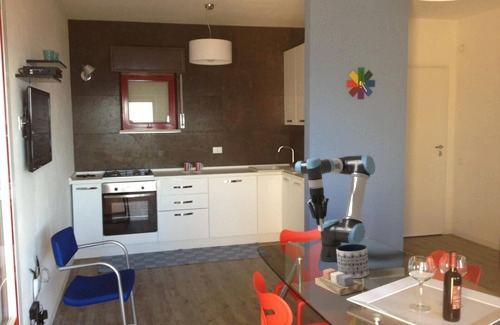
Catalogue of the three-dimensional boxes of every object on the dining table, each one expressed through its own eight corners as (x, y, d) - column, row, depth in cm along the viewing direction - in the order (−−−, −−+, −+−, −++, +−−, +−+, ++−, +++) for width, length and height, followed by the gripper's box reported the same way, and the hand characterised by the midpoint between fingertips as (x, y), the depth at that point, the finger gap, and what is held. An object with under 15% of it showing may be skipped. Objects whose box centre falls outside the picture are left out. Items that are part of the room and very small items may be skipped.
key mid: (339, 280, 235) (338, 271, 234) (345, 283, 230) (344, 273, 230) (331, 283, 233) (330, 273, 232) (336, 285, 228) (335, 275, 228)
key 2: (347, 284, 228) (347, 274, 228) (354, 286, 223) (353, 276, 223) (339, 286, 226) (338, 276, 226) (345, 289, 222) (344, 278, 221)
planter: (336, 278, 244) (333, 251, 244) (341, 270, 259) (338, 244, 259) (367, 279, 239) (365, 251, 238) (370, 270, 254) (368, 243, 253)
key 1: (331, 277, 241) (331, 268, 241) (337, 280, 236) (336, 270, 236) (323, 279, 239) (322, 269, 239) (328, 282, 234) (328, 272, 234)
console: (337, 278, 244) (336, 273, 244) (363, 289, 224) (362, 283, 224) (315, 284, 239) (315, 278, 239) (340, 295, 219) (339, 289, 219)
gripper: (322, 184, 257) (327, 227, 259) (302, 188, 252) (306, 232, 254) (330, 185, 251) (335, 229, 252) (309, 189, 245) (314, 234, 247)
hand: (320, 230), depth 253 cm, fingers closed
